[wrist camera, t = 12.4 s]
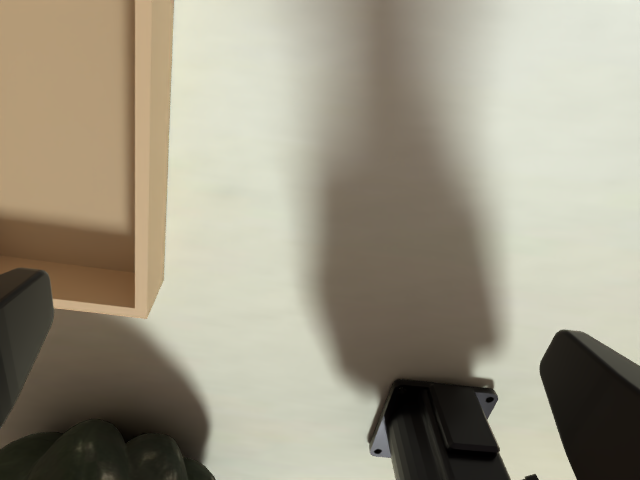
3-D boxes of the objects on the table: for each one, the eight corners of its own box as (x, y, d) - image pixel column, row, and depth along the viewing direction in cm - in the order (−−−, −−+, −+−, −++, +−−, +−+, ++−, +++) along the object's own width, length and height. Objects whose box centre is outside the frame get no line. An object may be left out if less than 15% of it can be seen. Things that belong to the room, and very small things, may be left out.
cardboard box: (163, 279, 23) (146, 318, 20) (-11, 257, 22) (-53, 295, 19) (180, -197, 14) (155, -237, 12) (-106, -273, 13) (-206, -338, 10)
